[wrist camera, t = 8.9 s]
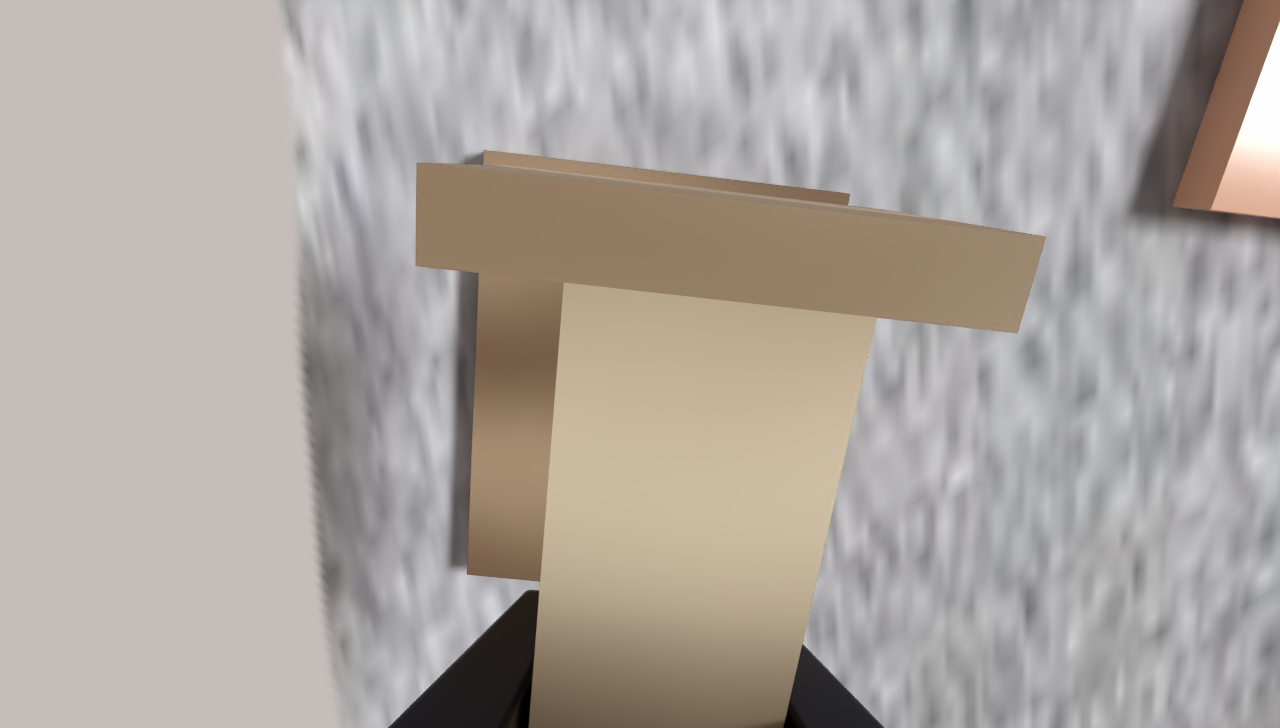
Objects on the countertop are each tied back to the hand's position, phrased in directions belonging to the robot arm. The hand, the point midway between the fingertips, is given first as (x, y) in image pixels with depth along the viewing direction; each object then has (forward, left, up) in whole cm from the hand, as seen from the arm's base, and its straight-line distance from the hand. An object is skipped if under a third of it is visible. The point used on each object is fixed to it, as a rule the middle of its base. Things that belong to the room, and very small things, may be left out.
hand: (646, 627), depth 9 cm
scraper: (0, 0, -1) cm, 1 cm away
